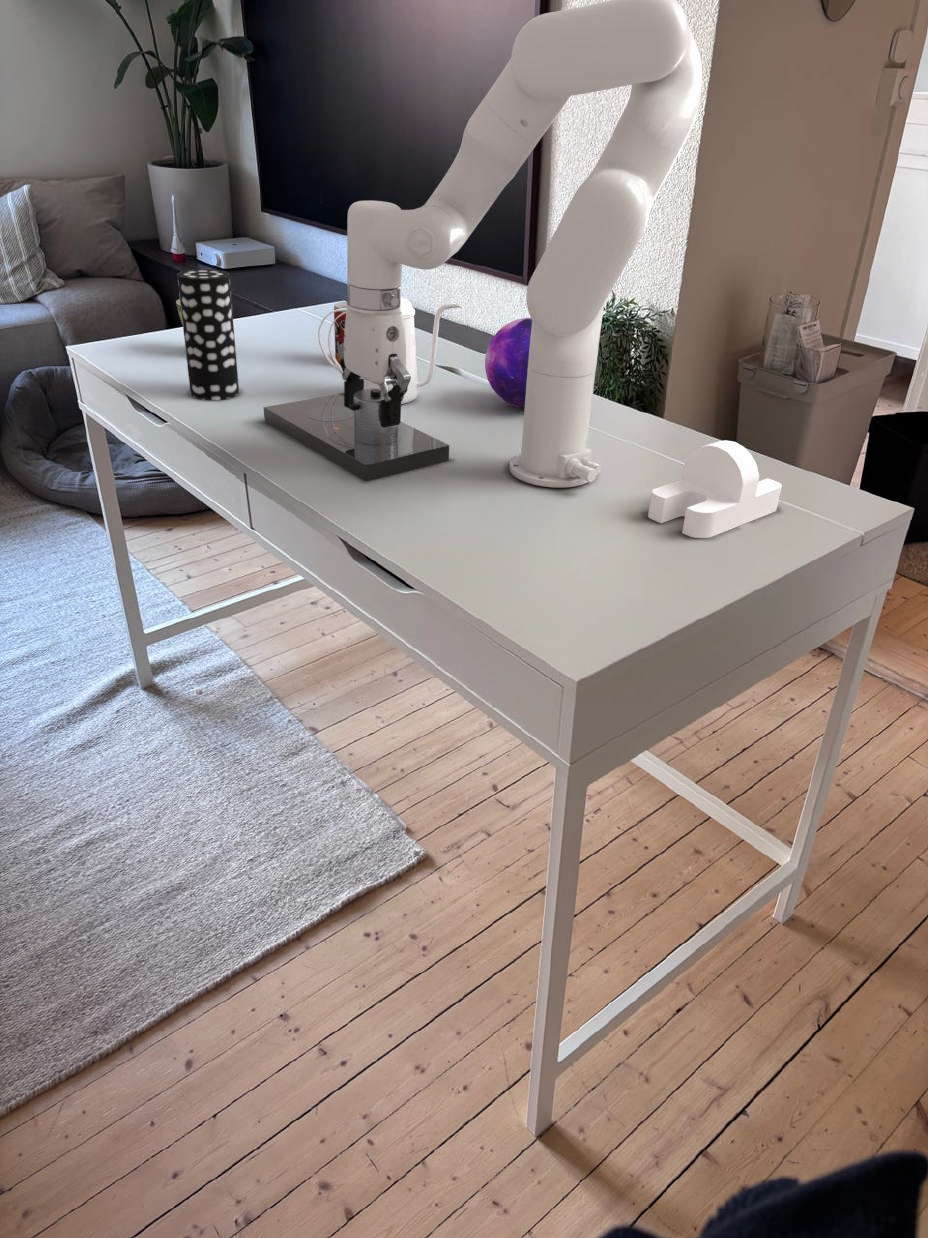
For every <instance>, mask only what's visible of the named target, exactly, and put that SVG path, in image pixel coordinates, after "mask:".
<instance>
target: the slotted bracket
mask: <svg viewBox="0 0 928 1238" xmlns="http://www.w3.org/2000/svg"><path fill="white" fill-rule="evenodd" d="M782 487H783V485H782V483H780V482H779V481H776V480H774V479H771V478H764V479H762V480H760V473H759V469H758V464H757V462H756V460H755V458H754V456H753V454H751V452H750V451H748V449H747V448H746V447H745V446H743V445H741V444H739V443H738V442H736V441H732V440H726V439H725V440H720V441H715V442H711V443H709V444H705V445H702V446H699V447H698V448H696V449H694V450H693V451H691V452H690V453H689V455H688V456H687V458H686V459H685V462H684V464H683V470H682V476H681V479H679V480H677V481H673V482H671V483H667V484H665V485H661V486H658V487H656V488H653V489H652V490H651V494H650V500H649V506H648V513H647V517H648V518H649V519H650V520H653V521H654V522H657V523H658V524H663V523H666V522H669V521H672V520H674V519H677V518H679V517H684V521H683V525H682V532H681V534H683V535H686V536H688V537H689V538H695V539H709V538H713V537H715V536H717V535H720V534H722V533H725V532H727V531H730V530H732V529H735V528H737V527H740V526H743V525H745V524H748V523H749V522H753V521H755V520H757V519H760V518H763V517H765V516H768V515H770V514H772V513H775V512H776V511H777V510H778V509H777V508H778V505H779V502H780V501H779V500H780V496H781V491H782Z"/></svg>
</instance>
